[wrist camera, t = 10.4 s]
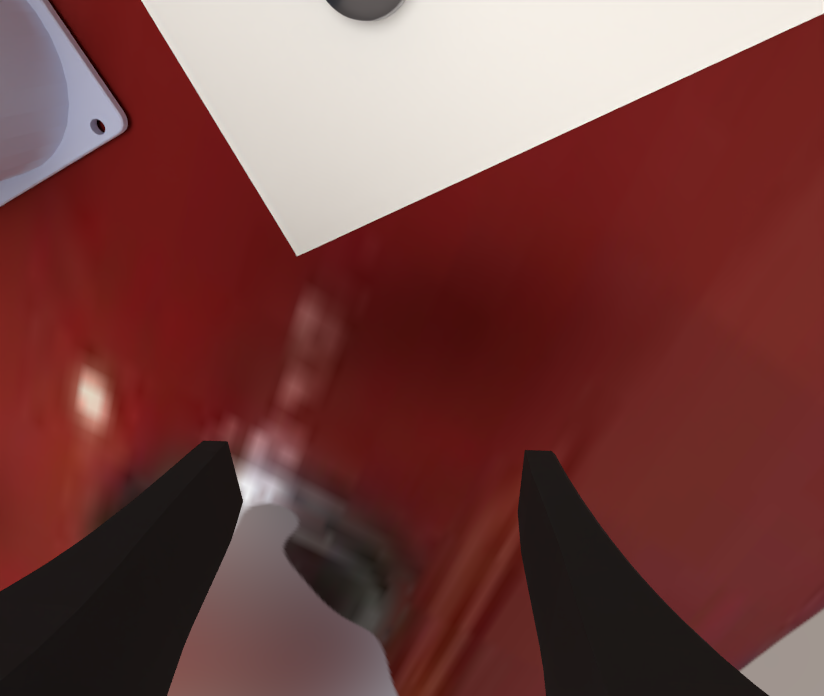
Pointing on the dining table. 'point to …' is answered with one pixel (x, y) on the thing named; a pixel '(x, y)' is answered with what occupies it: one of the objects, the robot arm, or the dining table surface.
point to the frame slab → (430, 86)
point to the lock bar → (366, 8)
